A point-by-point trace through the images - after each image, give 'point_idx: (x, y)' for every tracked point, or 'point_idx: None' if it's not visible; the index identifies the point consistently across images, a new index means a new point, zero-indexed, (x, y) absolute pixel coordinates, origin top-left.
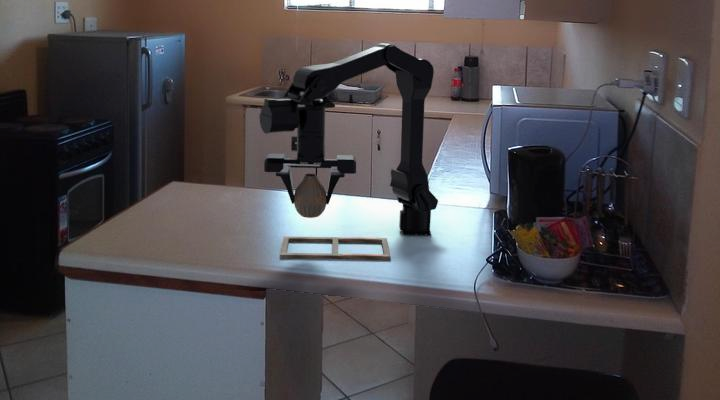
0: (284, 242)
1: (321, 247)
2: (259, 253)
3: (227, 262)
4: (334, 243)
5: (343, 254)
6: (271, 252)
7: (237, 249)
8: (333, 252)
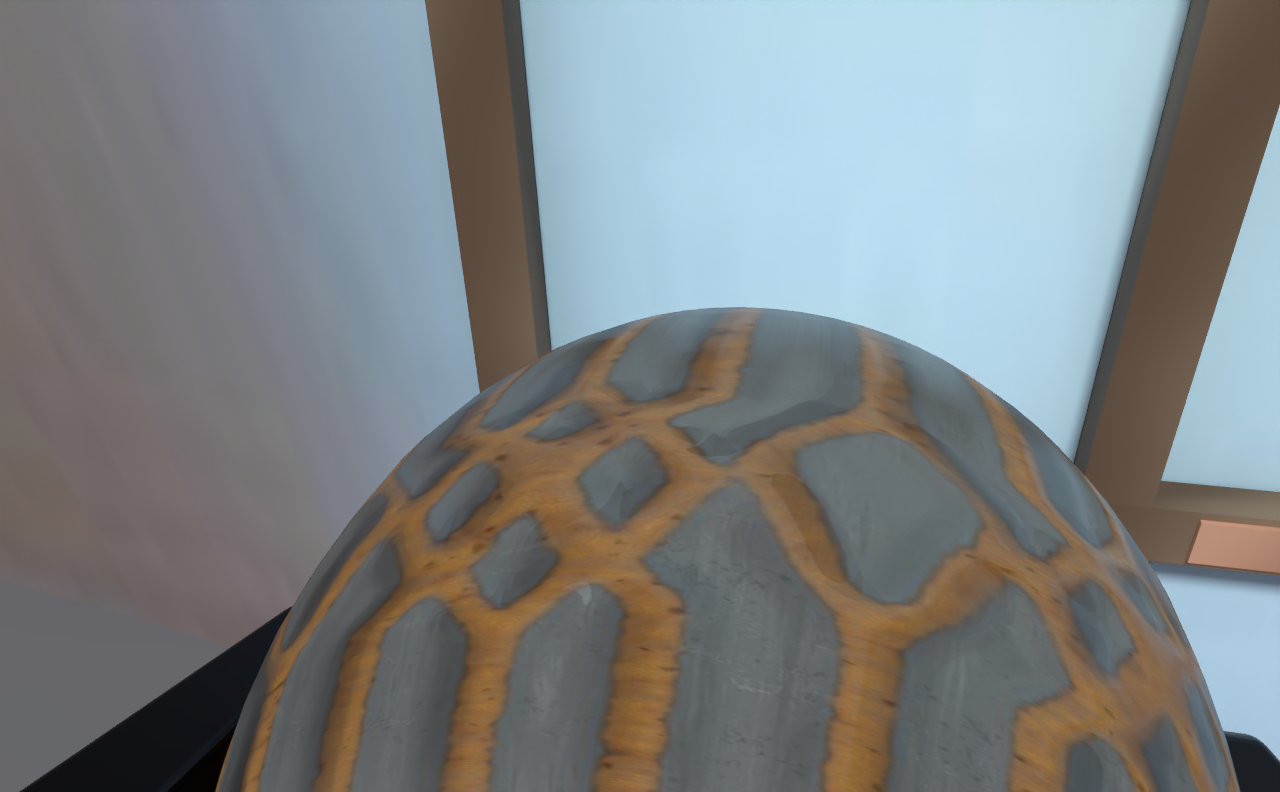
0: (466, 100)
1: (987, 130)
2: (278, 324)
3: (108, 513)
4: (1205, 137)
5: (1207, 554)
6: (386, 300)
7: (25, 203)
8: (1098, 469)
